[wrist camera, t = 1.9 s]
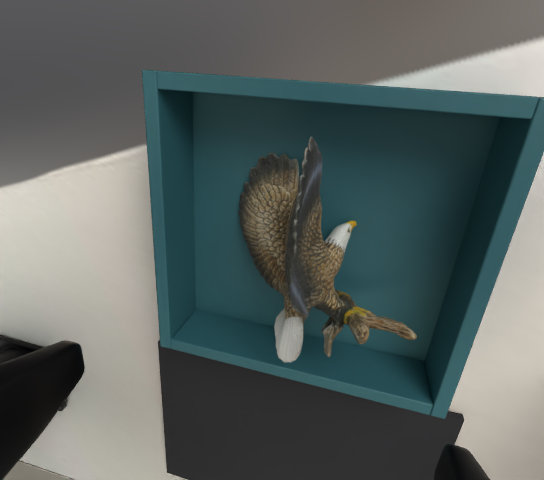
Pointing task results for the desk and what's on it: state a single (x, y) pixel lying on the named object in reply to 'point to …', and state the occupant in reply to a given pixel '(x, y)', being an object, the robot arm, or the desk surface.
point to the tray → (339, 221)
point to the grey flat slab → (31, 473)
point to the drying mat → (288, 428)
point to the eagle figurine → (301, 252)
